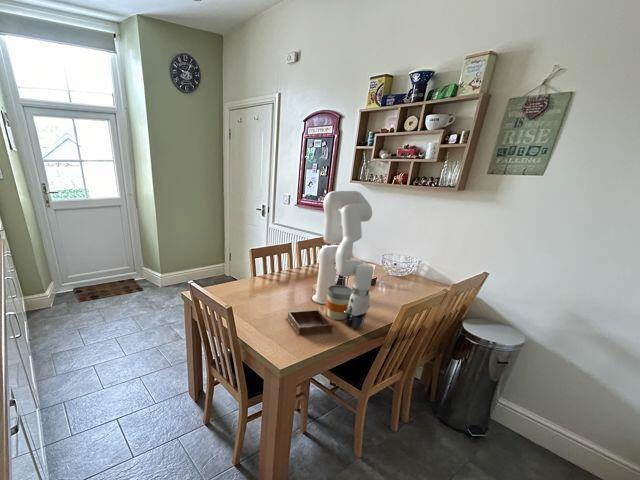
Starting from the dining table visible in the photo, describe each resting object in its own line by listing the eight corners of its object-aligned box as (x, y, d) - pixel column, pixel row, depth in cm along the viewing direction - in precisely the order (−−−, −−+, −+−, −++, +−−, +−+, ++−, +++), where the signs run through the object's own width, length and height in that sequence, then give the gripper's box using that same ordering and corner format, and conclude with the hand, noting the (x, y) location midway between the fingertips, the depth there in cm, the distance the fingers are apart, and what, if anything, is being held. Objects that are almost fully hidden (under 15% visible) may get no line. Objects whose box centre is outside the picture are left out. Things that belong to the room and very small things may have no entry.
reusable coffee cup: (327, 308, 177) (331, 283, 171) (351, 314, 171) (356, 288, 165) (320, 318, 167) (324, 291, 161) (345, 324, 161) (350, 296, 155)
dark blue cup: (357, 322, 163) (359, 311, 161) (364, 329, 157) (366, 318, 155) (344, 323, 162) (346, 312, 160) (351, 330, 156) (353, 319, 154)
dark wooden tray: (317, 316, 168) (318, 309, 167) (331, 332, 154) (332, 325, 152) (287, 319, 165) (288, 311, 164) (298, 335, 151) (299, 327, 149)
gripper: (354, 297, 145) (347, 331, 153) (379, 290, 154) (372, 322, 161) (341, 291, 151) (336, 324, 158) (366, 285, 159) (360, 316, 167)
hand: (354, 323), depth 160 cm, fingers open, 8 cm apart
